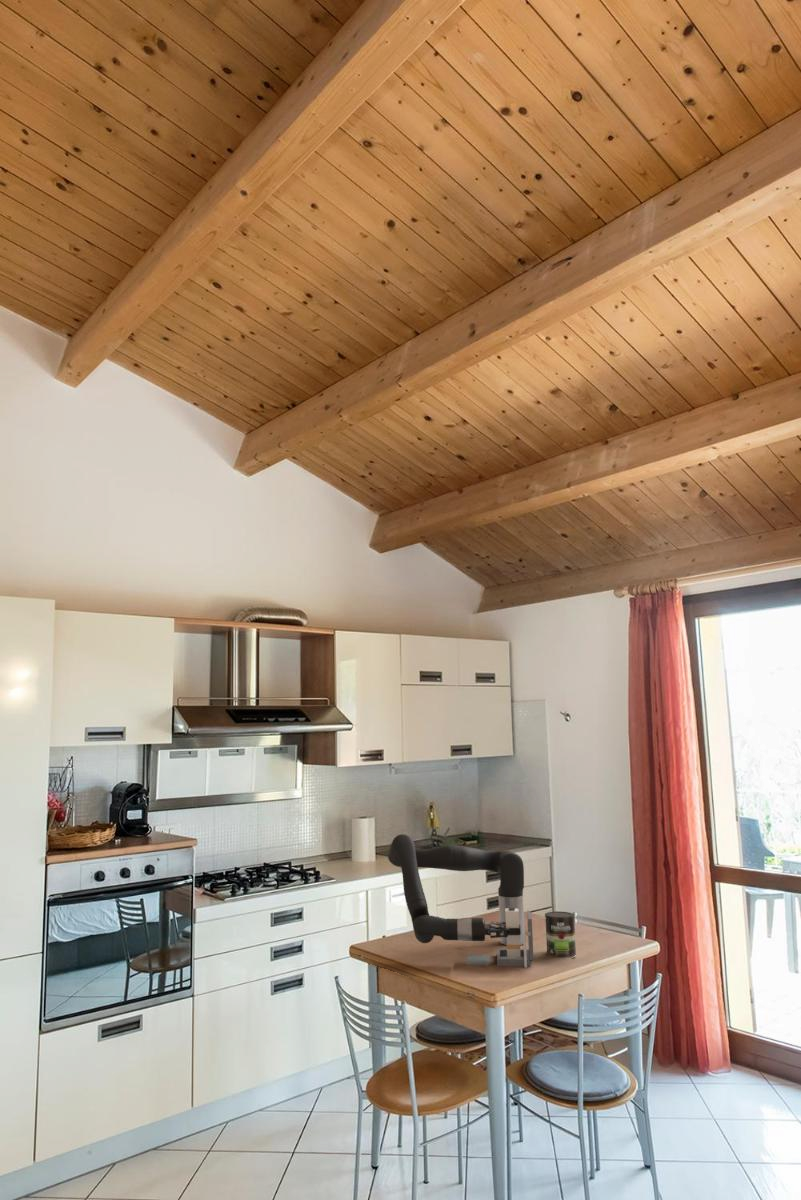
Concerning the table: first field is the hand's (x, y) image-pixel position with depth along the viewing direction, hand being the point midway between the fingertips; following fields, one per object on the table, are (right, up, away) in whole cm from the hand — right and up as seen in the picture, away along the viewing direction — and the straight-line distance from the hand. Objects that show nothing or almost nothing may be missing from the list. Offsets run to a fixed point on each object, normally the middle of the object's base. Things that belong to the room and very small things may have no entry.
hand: (520, 929), depth 281 cm
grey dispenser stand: (-3, -11, -2) cm, 11 cm away
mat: (-14, -12, 0) cm, 18 cm away
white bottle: (-2, -9, -1) cm, 9 cm away
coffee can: (+16, -12, +7) cm, 21 cm away
